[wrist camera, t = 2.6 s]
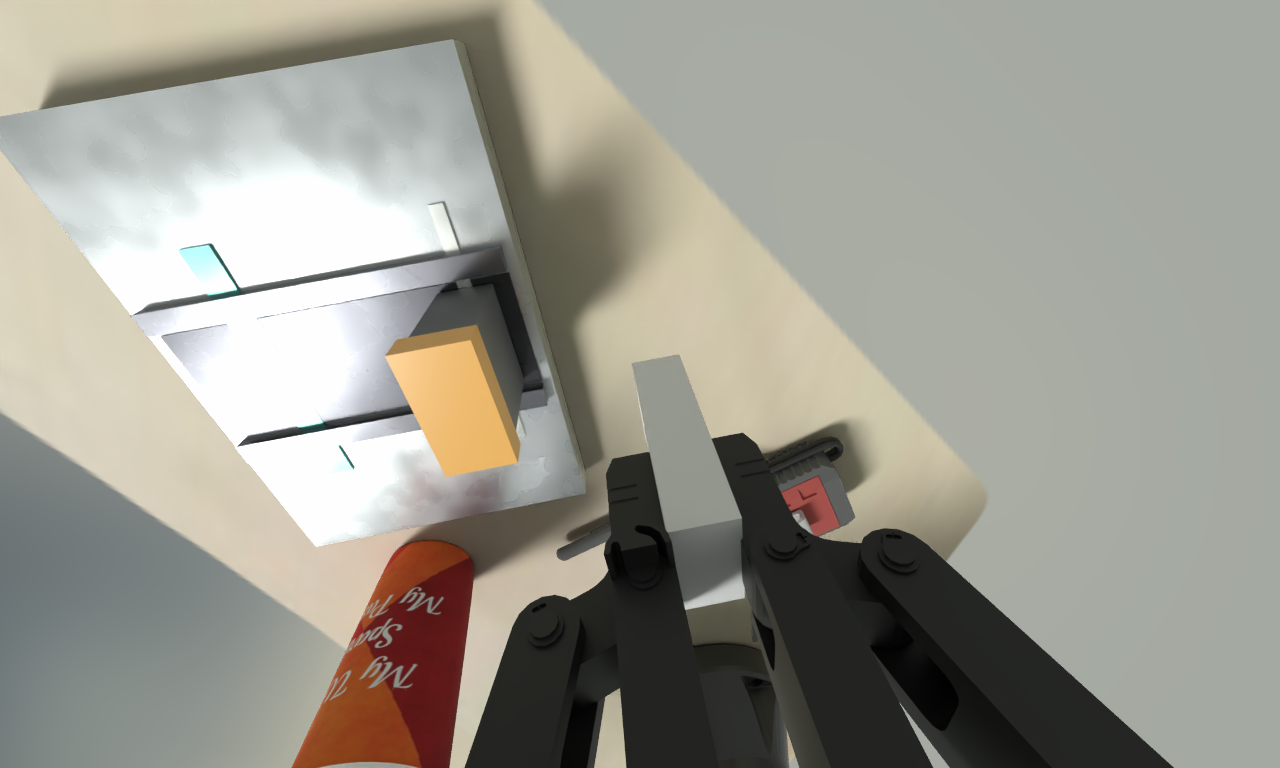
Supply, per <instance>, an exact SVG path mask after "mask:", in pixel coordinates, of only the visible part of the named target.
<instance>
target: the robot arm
mask: <svg viewBox="0 0 1280 768" xmlns="http://www.w3.org/2000/svg"><path fill="white" fill-rule="evenodd" d="M632 368H633V373H634V379H635V384H636V390H637V395H638V401H639V406H640V412H641V417H642V423H643V428H644V434H645V439H646V444H647V449H648V452H646V453H641V454H635V455H630V456H625V457H620V458H614V459H612V461H611V464H610V466H609V468H608V471H607V473H606V479H607V490H608V503H609V515H610V527H611V535H610V537H609V539H608V540H607V542H606V544H605V550H604V557H605V560H606V563H607V567H608V570H609V571H608V572H607V574H606V576H605V577H604V578H603V579H602V580H601V581H600V582H599V583H598V584H597V585H596V586H595V587H593V588H592V589H590V590H589V591H587V592H585V593H583V594H581V595H579V596H578V597H576V598H574V599H572V600H569V599H567V598H565V597H561V596H557V595H552V596H545V597H541V598H539V599H537V600H535V601H534V602H532V603H530V604H529V605H528V606H527V607H526V608H525V609H524V610H523V611H522V612H521V613H520V614H519V615H518V617H517V619H516V621H515V623H514V625H513V627H512V630H511V633H510V636H509V639H508V642H507V645H506V647H505V650H504V653H503V656H502V659H501V662H500V665H499V668H498V671H497V674H496V677H495V680H494V683H493V686H492V689H491V692H490V695H489V697H488V700H487V703H486V706H485V709H484V712H483V715H482V718H481V721H480V724H479V727H478V730H477V733H476V736H475V739H474V742H473V745H472V748H471V750H470V753H469V757H468V759H467V762H466V765H465V768H594V764H595V758H596V752H597V745H598V739H599V733H600V727H601V720H602V714H603V708H604V701H605V697H606V696H607V695H609V694H610V693H612V692H614V691H615V690H617V689H619V688H620V692H621V704H622V717H623V729H624V742H625V754H626V767H627V768H789V759H788V743H787V731H788V734H789V737H790V740H791V743H792V746H793V749H794V752H795V755H796V758H797V762H798V765H799V768H933V766H932V765H931V763H930V761H929V759H928V757H927V755H926V753H925V751H924V749H923V747H922V745H921V743H920V741H919V740H918V738H917V736H916V734H915V732H914V730H913V728H912V726H911V724H910V722H909V720H908V718H907V716H906V715H905V713H904V711H903V709H902V707H901V705H902V706H903V707H904V709H905V710H906V711H907V713H908V714H909V715H910V716H911V718H912V719H913V720H914V722H915V723H916V724H917V725H918V727H919V728H920V729H921V731H922V732H923V733H924V734H925V736H926V737H927V739H928V740H929V741H930V742H931V744H932V745H933V746H934V748H935V749H936V750H937V751H938V753H939V754H940V755H941V757H942V758H943V759H944V760H945V762H946V763H947V764H948V766H949V767H950V768H1174V767H1172V766H1171V765H1170V764H1169V763H1168V762H1167V761H1166V760H1165V759H1164V758H1162V757H1161V756H1160V755H1159V754H1158V753H1157V752H1156V751H1155V750H1154V749H1153V748H1151V747H1150V746H1149V745H1148V744H1147V743H1146V742H1145V741H1143V740H1142V739H1141V738H1140V737H1139V736H1138V735H1137V734H1136V733H1135V732H1134V731H1133V730H1131V729H1130V728H1129V727H1128V726H1127V725H1126V724H1125V723H1124V722H1123V721H1121V720H1120V719H1119V718H1118V717H1117V716H1116V715H1115V714H1114V713H1113V712H1112V711H1110V710H1109V709H1108V708H1107V707H1106V706H1105V705H1104V704H1103V703H1102V702H1101V701H1099V700H1098V699H1097V698H1096V697H1095V696H1094V695H1093V694H1092V693H1091V692H1089V691H1088V690H1087V689H1086V688H1085V687H1084V686H1083V685H1082V684H1081V683H1079V682H1078V681H1077V680H1076V679H1075V678H1074V677H1073V676H1072V675H1071V674H1069V673H1068V672H1067V671H1066V670H1065V669H1064V668H1063V667H1062V666H1061V665H1060V664H1058V663H1057V662H1056V661H1055V660H1054V659H1053V658H1052V657H1051V656H1050V655H1048V654H1047V653H1046V652H1045V651H1044V650H1043V649H1042V648H1041V647H1040V646H1039V645H1037V644H1036V643H1035V642H1034V641H1033V640H1032V639H1031V638H1030V637H1029V636H1028V635H1026V634H1025V633H1024V632H1023V631H1022V630H1021V629H1020V628H1019V627H1018V626H1016V625H1015V624H1014V623H1013V622H1012V621H1011V620H1010V619H1009V618H1008V617H1006V616H1005V615H1004V614H1003V613H1002V612H1001V611H1000V610H999V609H998V608H996V607H995V606H994V605H993V604H992V603H991V602H990V601H989V600H988V599H987V598H985V597H984V596H983V595H982V594H981V593H980V592H979V591H978V590H976V589H975V588H974V587H973V586H972V585H971V584H970V583H969V582H968V581H967V580H966V579H964V578H963V577H962V576H961V575H960V574H959V573H958V572H957V571H956V570H954V569H953V568H952V567H951V566H950V565H949V564H948V563H947V562H946V561H945V560H943V559H942V558H941V557H940V556H939V555H938V554H937V553H936V552H935V551H933V550H932V549H931V548H930V547H929V546H928V545H927V544H926V543H924V542H923V541H921V540H920V539H918V538H917V537H915V536H914V535H912V534H909V533H907V532H904V531H901V530H897V529H885V528H884V529H880V530H875V531H872V532H871V533H869V534H868V535H867V536H865V537H864V538H863V541H862V543H851V542H840V541H832V540H827V539H823V538H820V537H817V536H815V535H813V534H811V533H809V532H808V531H807V530H806V529H804V528H803V527H801V526H800V525H799V524H798V523H797V521H796V520H795V518H794V517H793V515H792V513H791V511H790V509H789V507H788V505H787V503H786V501H785V499H784V497H783V495H782V493H781V491H780V489H779V487H778V485H777V483H776V481H775V479H774V477H773V475H772V473H770V469H769V467H768V465H767V463H766V461H764V457H763V455H762V453H761V451H760V449H759V447H758V445H757V444H756V443H755V442H754V441H752V440H751V439H750V438H749V437H747V436H746V435H745V434H744V433H739V434H734V435H728V436H723V437H718V438H713V439H711V436H710V434H709V431H708V428H707V426H706V423H705V421H704V418H703V415H702V413H701V410H700V408H699V405H698V402H697V400H696V397H695V395H694V392H693V389H692V387H691V384H690V382H689V379H688V376H687V374H686V371H685V369H684V366H683V363H682V361H681V358H680V356H679V355H673V356H668V357H663V358H657V359H652V360H647V361H641V362H636V363H632ZM745 590H746V593H747V596H748V599H749V602H750V605H751V627H752V639H753V642H755V641H758V642H759V645H760V648H761V651H762V652H760V651H758V650H755V649H752V648H749V647H744V646H738V645H709V646H701V647H696V648H693V644H692V639H691V635H690V630H689V625H688V621H687V616H686V611H685V610H687V609H692V608H697V607H702V606H707V605H712V604H717V603H722V602H727V601H732V600H737V599H742V598H745ZM899 702H900V703H901V705H900V703H899Z"/></svg>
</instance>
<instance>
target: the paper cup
mask: <svg viewBox="0 0 1280 768" xmlns="http://www.w3.org/2000/svg"><path fill="white" fill-rule="evenodd" d="M473 580H474V563H473V561H472V559H471V557H470V556H469V555H468V554H467V553H466V552H465V551H464V550H463V549H461V548H459V547H457V546H455V545H453V544H450V543H447V542H442V541H435V540H424V541H417V542H412V543H409V544H407V545H404V546H403V547H401V548H399V549H398V550H397V551H396V552H395V553H394V554H393V555H392V557H391V559H390V560H389V562H388V564H387V566H386V568H385V570H384V572H383V574H382V576H381V578H380V580H379V582H378V584H377V586H376V588H375V590H374V592H373V595H372V597H371V599H370V601H369V603H368V605H367V607H366V609H365V611H364V614H363V616H362V618H361V620H360V622H359V624H358V626H357V629H356V631H355V633H354V635H353V637H352V639H351V641H350V643H349V646H348V648H347V650H346V652H345V654H344V656H343V658H342V661H341V663H340V665H339V667H338V669H337V672H336V674H335V676H334V678H333V680H332V682H331V684H330V686H329V689H328V691H327V693H326V695H325V697H324V699H323V702H322V704H321V706H320V708H319V710H318V712H317V714H316V717H315V719H314V721H313V723H312V725H311V727H310V730H309V732H308V734H307V736H306V738H305V740H304V742H303V744H302V747H301V749H300V751H299V753H298V755H297V757H296V759H295V762H294V764H293V766H292V768H449V766H450V758H451V751H452V743H453V736H454V727H455V721H456V713H457V706H458V698H459V691H460V683H461V676H462V668H463V660H464V653H465V645H466V637H467V630H468V622H469V614H470V606H471V598H472V589H473Z"/></svg>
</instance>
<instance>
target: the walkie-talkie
mask: <svg viewBox="0 0 1280 768" xmlns="http://www.w3.org/2000/svg"><path fill="white" fill-rule="evenodd" d="M830 447H833V448H832V449H831V450H830V451H828V452H826V453H824V452H823V450H824V449H826V448H830ZM842 453H843V445H842V444H841V442H840V441H839V440H838V439H837V438H835V437H828V438H823V439H821V440H818V441H816V442H814V443H810V442H805V444H803V445H801V446H800V445H798V446H797V447H796V448H794V449H790V451H788V452H786V453H785V452H783V453H782V454H781V455H779V456H775V457H774V458H773V459H771V460H770V459H768V460H767V461H766V463H767V465H768V467H769V469H770V473H772V475H773V477H774V479H775V481H776V483H777V485H778V487H779V489H780V491H781V493H782V495H783V497H784V499H785V501H786V503H787V505H788V507H789V509H790V511H791V513H792V515H793V517H794V518H795V520H796V521H797V523H798V524H799V525H800V526H801V527H803V528H804V529H806V530H807V531H808V532H809V533H811V534H813V535H815V536H817V537H819V536H821V535H824V534H826V533H828V532H831V531H833V530H835V529H837V528H840V527H842V526H845V525H847V524H848V523H849V522H850V521H852V520H853V519H854V518H855V515H854V512H853V510H852V507H851V505H850V502H849V500H848V497H847V495H846V492H845V490H844V487H843V485H842V482H841V479H840V477H839V475H838V473H837V471H836V469H835V467H834V466H833V465H832V463H831V462H832V461H834V460H836V459H837V458H839V457H840V456H841V455H842ZM610 535H611V527H610V523H608V524H606V525H604V526H602V527H599V528H597V529H595V530H593V531H591V532H590V534H589V535H587V536H585V537H583V538H581V539H579V540H576V541H574V542H572V543H570V544H568V545H566V546H564V547H562V548H560V549H558V550H557V557H558V558H559V559H560V560H563V561H565V560H568V559H570V558H572V557H574V556H576V555H578V554H581V553H583V552H585V551H587V550H589V549H591V548H594V547H596V546H598V545H600V544H602V543H604V542H606V541H607V540H608V539H609V537H610Z"/></svg>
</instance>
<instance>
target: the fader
mask: <svg viewBox="0 0 1280 768" xmlns="http://www.w3.org/2000/svg"><path fill="white" fill-rule="evenodd" d="M385 357H386V359H387V361H388V363H389V365H390V367H391V369H392V371H393V373H394V375H395V377H396V379H397V381H398V383H399V385H400V387H401V389H402V391H403V393H404V395H405V397H406V399H407V401H408V403H409V405H410V407H411V409H412V411H413V413H414V415H415V417H416V419H417V421H418V423H419V425H420V427H421V429H422V431H423V433H424V435H425V437H426V439H427V441H428V443H429V445H430V447H431V449H432V451H433V453H434V454H435V456H436V458H437V460H438V462H439V464H440V466H441V468H442V470H443V472H444V474H445V476H446V477H449V476H454V475H459V474H465V473H470V472H475V471H480V470H485V469H490V468H496V467H501V466H506V465H511V464H516V463H518V459H519V452H520V445H521V443H520V440H519V438H518V435H517V432H516V428H517V422H518V416H519V409H520V403H521V397H522V391H523V385H524V377H523V374H522V371H521V368H520V365H519V362H518V359H517V356H516V353H515V350H514V347H513V344H512V341H511V338H510V335H509V332H508V329H507V325H506V322H505V319H504V316H503V313H502V310H501V307H500V304H499V301H498V298H497V295H496V292H495V289H494V286H493V283H491V284H485V285H480V286H475V287H469V288H464V289H458V290H453V291H447V292H442V293H437V295H436V296H435V298H434V300H433V301H432V303H431V304H430V306H429V307H428V309H427V310H426V312H425V313H424V315H423V316H422V318H421V319H420V321H419V322H418V324H417V325H416V327H415V329H414V330H413V332H412V333H411V335H410V336H409V337H408V338H403V339H397V340H396V341H395V342H394V344H393V345H392V347H391V348H390V350H389V351H388V352H387V354H386V355H385Z"/></svg>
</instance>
